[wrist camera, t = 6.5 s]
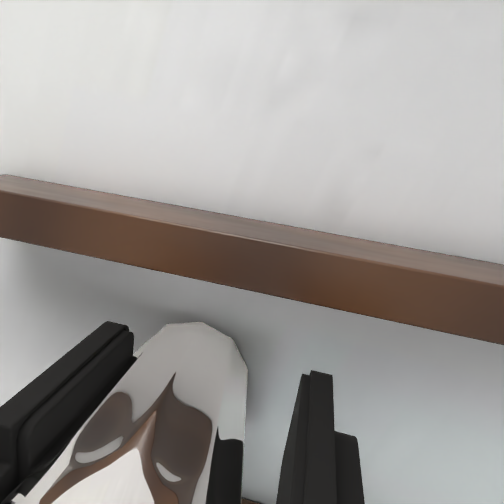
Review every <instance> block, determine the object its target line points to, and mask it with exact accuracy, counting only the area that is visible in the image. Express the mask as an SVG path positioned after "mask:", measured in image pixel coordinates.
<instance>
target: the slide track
mask: <svg viewBox="0 0 504 504" xmlns="http://www.w3.org/2000/svg"><path fill="white" fill-rule="evenodd" d="M0 237H2V238H7V239H11V240H16V241H21V242H25V243H30V244H35V245H39V246H44V247H49V248H53V249H58V250H63V251H67V252H72V253H77V254H81V255H86V256H91V257H95V258H100V259H105V260H109V261H114V262H119V263H123V264H128V265H133V266H137V267H142V268H147V269H151V270H156V271H161V272H165V273H170V274H175V275H179V276H184V277H189V278H193V279H198V280H203V281H207V282H212V283H217V284H221V285H226V286H231V287H235V288H240V289H245V290H249V291H254V292H259V293H263V294H268V295H273V296H277V297H282V298H287V299H291V300H296V301H301V302H305V303H310V304H315V305H319V306H324V307H329V308H333V309H338V310H343V311H347V312H352V313H357V314H361V315H366V316H371V317H375V318H380V319H385V320H389V321H394V322H399V323H403V324H408V325H413V326H417V327H422V328H427V329H431V330H436V331H441V332H445V333H450V334H455V335H459V336H464V337H469V338H473V339H478V340H483V341H487V342H492V343H497V344H501V345H504V265H501V264H496V263H490V262H485V261H479V260H474V259H468V258H463V257H457V256H452V255H446V254H441V253H435V252H430V251H424V250H419V249H413V248H408V247H402V246H397V245H391V244H386V243H380V242H375V241H369V240H364V239H358V238H353V237H347V236H342V235H336V234H331V233H325V232H320V231H314V230H309V229H303V228H298V227H292V226H287V225H281V224H276V223H270V222H265V221H259V220H254V219H248V218H243V217H237V216H231V215H226V214H220V213H215V212H209V211H204V210H198V209H193V208H187V207H182V206H176V205H171V204H165V203H160V202H154V201H149V200H143V199H138V198H132V197H127V196H121V195H116V194H110V193H105V192H99V191H94V190H88V189H83V188H77V187H72V186H66V185H61V184H55V183H50V182H44V181H39V180H33V179H28V178H22V177H17V176H11V175H0ZM241 504H259V503H256V502H253V501H249V500H246V499H243V498H241Z"/></svg>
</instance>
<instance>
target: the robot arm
mask: <svg viewBox="0 0 504 504" xmlns="http://www.w3.org/2000/svg"><path fill="white" fill-rule="evenodd" d="M133 344H134V334H133V333H132V332H129V328H128V326H127V325H123V324H118V323H114V322H110V321H107V322H105V323H103V324H102V325H101V326H100V327H99V328H97V329H96V330H95V331H94V332H92V333H91V334H90V335H89V336H87V337H86V338H85V339H84V340H83V341H81V342H80V343H79V344H78V345H76V346H75V347H74V348H73V349H71V350H70V351H69V352H68V353H66V354H65V355H64V356H63V357H62V358H60V359H59V360H58V361H57V362H55V363H54V364H53V365H52V366H50V367H49V368H48V369H47V370H46V371H44V372H43V373H42V374H41V375H39V376H38V377H37V378H36V379H34V380H33V381H32V382H31V383H29V384H28V385H27V386H26V387H25V388H23V389H22V390H21V391H20V392H18V393H17V394H16V395H15V396H13V397H12V398H11V399H10V400H9V401H7V402H6V403H5V404H4V405H2V406H1V407H0V501H1V500H2V499H3V497H4V496H5V495H6V494H7V493H8V492H9V491H10V490H11V489H12V488H13V487H14V486H15V485H16V484H17V483H18V482H19V481H20V480H21V479H22V478H23V477H24V476H25V475H26V474H27V473H28V472H29V471H30V470H31V469H32V467H33V466H34V465H35V464H36V463H37V462H38V461H39V460H40V459H41V457H42V456H43V455H44V454H45V453H46V452H47V451H48V450H49V449H50V447H51V446H52V445H53V444H54V443H55V442H56V441H57V440H58V438H59V437H60V436H61V435H62V434H63V433H64V432H65V431H66V430H67V428H68V427H69V426H70V425H71V424H72V423H73V422H74V421H75V419H76V418H77V417H78V416H79V415H80V414H81V413H82V412H83V410H84V409H85V408H86V407H87V406H88V405H89V404H90V403H91V402H92V400H93V399H94V398H95V397H96V396H97V395H98V394H99V393H100V392H101V391H102V389H103V388H104V387H105V386H106V385H107V384H108V383H109V382H110V381H111V380H112V378H113V377H114V376H115V375H116V374H117V373H118V372H119V371H120V370H121V369H122V367H123V366H124V365H125V364H126V363H127V362H128V361H129V360H130V359H131V358H132V356H133ZM276 504H365V503H364V494H363V485H362V476H361V467H360V458H359V449H358V442H357V438H356V437H355V436H351V435H347V434H343V433H339V432H336V431H334V404H333V377H332V375H330V374H325V373H321V372H317V371H313V370H311V372H310V375H305V374H302V376H301V380H300V384H299V389H298V393H297V398H296V402H295V406H294V411H293V415H292V420H291V424H290V428H289V433H288V437H287V442H286V446H285V450H284V455H283V460H282V466H281V473H280V480H279V488H278V495H277V503H276Z"/></svg>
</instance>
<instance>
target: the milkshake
mask: <svg viewBox="0 0 504 504" xmlns="http://www.w3.org/2000/svg"><path fill="white" fill-rule="evenodd" d="M247 376H248V369H247V366H246V364H245V362H244V360H243V358H242V356H241V354H240V352H239V350H238V348H237V346H236V344H235V342H234V340H233V339H232V338H230V337H229V336H227V335H225V334H223V333H221V332H220V331H218V330H216V329H214V328H212V327H211V326H209V325H207V324H205V323H204V322H188V323H170V324H166V325H165V326H164V327H163V328H162V329H160V330H159V331H158V332H157V333H156V334H155V335H153V336H152V337H151V338H150V339H149V340H147V341H146V342H145V343H144V344H143V345H142V346H141V347H140V348H139V349H138V350H137V351H136V352H135V353H134V355H133V356H132V358H131V359H130V360H129V361H128V362H127V363H126V364H125V365H124V366H123V367H122V369H121V370H120V371H119V372H118V373H117V374H116V375H115V376H114V377H113V378H112V380H111V381H110V382H109V383H108V384H107V385H106V386H105V387H104V388H103V389H102V391H101V392H100V393H99V394H98V395H97V396H96V397H95V398H94V399H93V400H92V402H91V403H90V404H89V405H88V406H87V407H86V408H85V409H84V410H83V412H82V413H81V414H80V415H79V416H78V417H77V418H76V419H75V421H74V422H73V423H72V424H71V425H70V426H69V427H68V428H67V430H66V431H65V432H64V433H63V434H62V435H61V436H60V437H59V438H58V440H57V441H56V442H55V443H54V444H53V445H52V446H51V447H50V449H49V450H48V451H47V452H46V453H45V454H44V455H43V456H42V457H41V459H40V460H39V461H38V462H37V463H36V464H35V465H34V466H33V467H32V469H31V470H30V471H29V472H28V473H27V474H26V475H25V476H24V477H23V478H22V479H21V480H20V481H19V482H18V483H17V484H16V485H15V486H14V487H13V488H12V489H11V490H10V491H9V492H8V493H7V494H6V495H5V496H4V497H3V499H2V500H1V501H0V504H241V496H242V476H243V457H244V437H245V417H246V397H247Z"/></svg>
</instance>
